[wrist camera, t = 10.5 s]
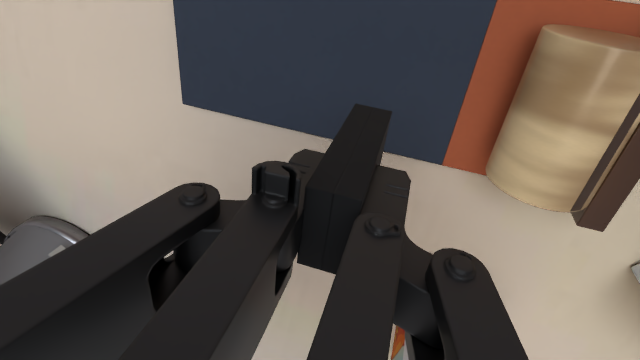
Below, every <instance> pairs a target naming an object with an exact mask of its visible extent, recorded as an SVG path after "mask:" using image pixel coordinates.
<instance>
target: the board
mask: <svg viewBox="0 0 640 360" xmlns="http://www.w3.org/2000/svg"><path fill="white" fill-rule="evenodd" d="M173 5H174V15H175V26H176V37H177V47H178V58H179V69H180V79H181V90H182V101H183V104H186V105H190V106H194V107H198V108H202V109H207V110H211V111H215V112H219V113H224V114H228V115H232V116H236V117H241V118H245V119H249V120H253V121H257V122H262V123H266V124H270V125H274V126H279V127H283V128H287V129H291V130H296V131H300V132H304V133H308V134H313V135H317V136H321V137H325V138H329V139H334V138H335V136H336V135H337V133H338V131H339V130H340V128H341V127H342V125H343V123H344V122H345V120H346V118H347V117H348V115H349V113H350V112H351V110H352V108H353V107H354V105H355V103H356V104H360V105H365V106H370V107H375V108H380V109H384V110H389V111H392V115H391V119H390V124H389V128H388V132H387V137H386V141H385V145H384V150H383V151H384V152H389V153H393V154H397V155H401V156H406V157H410V158H414V159H418V160H423V161H427V162H431V163H435V164H440V165H444V166H448V167H452V168H457V169H461V170H465V171H469V172H474V173H478V174H482V175H486V176H487V174H486V165H487V162H488V160H489V157H490V155H491V152H492V150H493V147H494V145H495V142H496V140H497V137H498V135H499V132H500V130H501V128H502V125H503V123H504V120H505V118H506V115H507V113H508V110H509V108H510V105H511V103H512V100H513V98H514V95H515V93H516V90H517V88H518V85H519V83H520V80H521V78H522V76H523V73H524V71H525V68H526V66H527V63H528V61H529V58H530V56H531V53H532V51H533V48H534V46H535V43H536V41H537V38H538V36H539V33H540V31H541V29H542V27H543V26H544V25H550V24H557V25H570V26H579V27H586V28H593V29H599V30H605V31H610V32H615V33H620V34H625V35H630V36H634V37H639V38H640V4H634V3H627V2H620V1H613V0H173ZM639 179H640V122H639V124H638V126H637V127H636V129H635V130H634V132H633V134H632V135H631V137H630V139H629V140H628V142H627V143H626V145H625V147H624V148H623V150H622V152H621V153H620V155H619V156H618V158H617V160H616V161H615V163H614V164H613V166H612V168H611V169H610V171H609V173H608V174H607V176H606V177H605V179H604V181H603V182H602V184H601V186H600V187H599V189H598V190H597V192H596V194H595V195H594V197H593V198H592V200H591V202H590V203H589V205H588V206H587V207H586V208H584V209H583V210H580V211H576V212H571V214H572V216H573V218H574V221H575V223H576V225H577V226H581V227H585V228H589V229H593V230H597V231H601V232H603V231H604V230H605V228H606V227H607V225H608V224H609V222H610V221H611V219H612V218H613V217H614V215H615V214H616V212H617V211H618V209H619V208H620V206H621V205H622V203H623V202H624V200H625V199H626V198H627V196H628V195H629V193H630V192H631V190H632V189H633V187H634V186H635V184H636V183H637V181H638V180H639Z"/></svg>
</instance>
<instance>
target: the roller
mask: <svg viewBox="0 0 640 360" xmlns="http://www.w3.org/2000/svg"><path fill="white" fill-rule="evenodd" d="M639 122H640V38H639V37H634V36H630V35H625V34H620V33H615V32H610V31H605V30H599V29H593V28H586V27H579V26H570V25H557V24H550V25H544V26H543V27H542V29H541V31H540V33H539V36H538V38H537V41H536V43H535V46H534V48H533V51H532V53H531V56H530V58H529V61H528V63H527V66H526V68H525V71H524V73H523V76H522V78H521V80H520V83H519V85H518V88H517V90H516V93H515V95H514V98H513V100H512V103H511V105H510V108H509V110H508V113H507V115H506V118H505V120H504V123H503V125H502V128H501V130H500V132H499V135H498V137H497V140H496V142H495V145H494V147H493V150H492V152H491V155H490V157H489V160H488V162H487V165H486V174H487V176H488V178H489V179H490V180H491V181H492V183H493V184H494V185H496V186H497V187H498V188H499V189H501V190H502V191H503V192H505V193H506V194H508V195H510V196H512V197H514V198H516V199H518V200H520V201H522V202H524V203H527V204H530V205H532V206H535V207H539V208H542V209H546V210H551V211H558V212H576V211H580V210H583V209H584V208H586V207H587V206H588V205H589V203H590V202H591V200H592V198H593V197H594V195H595V194H596V192H597V190H598V189H599V187H600V186H601V184H602V182H603V181H604V179H605V177H606V176H607V174H608V173H609V171H610V169H611V168H612V166H613V164H614V163H615V161H616V160H617V158H618V156H619V155H620V153H621V152H622V150H623V148H624V147H625V145H626V143H627V142H628V140H629V139H630V137H631V135H632V134H633V132H634V130H635V129H636V127H637V126H638V124H639Z"/></svg>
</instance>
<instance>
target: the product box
mask: <svg viewBox="0 0 640 360" xmlns="http://www.w3.org/2000/svg"><path fill="white" fill-rule="evenodd" d="M631 269H632V271H633V273H634V275H635V277H636V278H637V280H638V282H639V283H640V263H639V264H637V265H635V266H632V268H631Z"/></svg>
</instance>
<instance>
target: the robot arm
mask: <svg viewBox="0 0 640 360" xmlns="http://www.w3.org/2000/svg"><path fill="white" fill-rule="evenodd" d="M391 115H392V111H389V110H384V109H380V108H375V107H370V106H365V105H360V104H356V103H355V105H354V107H353V108H352V110H351V112H350V113H349V115H348V117H347V118H346V120H345V122H344V123H343V125H342V127H341V128H340V130H339V131H338V133H337V135H336V136H335V138H334V140H333V141H332V143H331V145H330V146H329V148H328V150H327V151H326V153H325V154H324V153H320V152H316V151H312V150H308V149H304V150H302V151H300V152H298V153H295V154H294V155H293V157H292V158H291V159H290V161H289V163H286V162H280V161H266V162H263V163H259V164H257V165H256V166H254V167H253V168H252V194H251V196H250V197H249V198H248V199H247V200H240V201H235V200H220V194H219V192H218V190H217V189H216V188H214V187H213V186H212V185H208V184H205V183H188V184H183V185H181V186H178V187H176V188H174V189H172V190H170V191H168V192H167V193H165V194H163V195H161V196H159V197H158V198H156V199H154V200H152V201H150V202H149V203H147V204H145V205H143V206H141V207H140V208H138V209H136V210H134V211H132V212H131V213H129V214H127V215H125V216H123V217H122V218H120V219H118V220H116V221H114V222H113V223H111V224H109V225H107V226H105V227H104V228H102V229H100V230H98V231H96V232H95V233H93V234H91V235H87V234H86V233H84V232H83V231H81V230H80V229H78V228H76V227H75V226H73V225H71V224H69V223H67V222H64V221H62V220H59V219H56V218H52V217H47V216H36V217H32V218H30V219H28V220H27V221H25V222H23V223H22V224H20V225H19V226H17V227H15V228H14V229H13V230H12V231H11V232H10V233H9V234H8V236H6V235H4V234H3V233H2V232H1V231H0V244H2V245H1V246H0V360H251V359H252V357H253V355H254V353H255V350H256V348H257V346H258V344H259V342H260V340H261V338H262V336H263V334H264V332H265V329H266V327H267V325H268V323H269V321H270V319H271V317H272V315H273V313H274V311H275V308H276V306H277V304H278V302H279V300H280V298H281V296H282V294H283V292H284V289H285V287H286V285H287V283H288V281H289V279H290V277H291V273H292V266H293V261H294V259H295V257H296V255H297V253H298V258H297V263H299V264H302V265H306V266H309V267H313V268H316V269H319V270H323V271H326V272H330V273H333V274H336V276H335V279H334V282H333V285H332V287H331V290H330V293H329V296H328V299H327V302H326V305H325V308H324V311H323V314H322V317H321V319H320V322H319V325H318V328H317V331H316V334H315V337H314V340H313V343H312V346H311V348H310V351H309V354H308V357H307V360H388V354H389V347H390V340H391V333H392V326H393V324H395V325H397V326H398V327H400V328H401V329H403V330H405V341H406V347H407V353H408V359H409V360H529V359H528V357H527V355H526V353H525V351H524V348H523V346H522V344H521V342H520V340H519V337H518V335H517V333H516V331H515V329H514V326H513V324H512V322H511V320H510V318H509V316H508V313H507V311H506V309H505V307H504V305H503V302H502V300H501V298H500V296H499V294H498V291H497V289H496V287H495V285H494V283H493V281H492V278H491V276H490V274H489V272H488V270H487V269H486V267H485V266H484V265H483V263H482V262H480V261H479V260H478V259H477V258H476V257H474V256H473V255H471V254H468V253H466V252H464V251H461V250H457V249H453V248H448V249H441V250H438V251H436V252H435V253H434V254H433V255H432V254H431V253H429V252H427V251H425V250H423V249H421V248H420V247H418V246H416V245H415V244H414V243H413V242H412V241H411V240H410V239H409V238H408V236H407V235H406V232H405V228H404V224H405V217H406V211H407V204H408V197H409V190H410V183H411V180H410V178H409V177H408V175H407V173H406V172H405V171H401V170H397V169H393V168H388V167H384V166H380V163H381V158H382V154H383V150H384V145H385V141H386V137H387V132H388V128H389V124H390V119H391ZM171 251H174V253H173V254H172V255H171V256H169V257H167V258H165V259H164V256H166V255H167V254H168V253H170V252H171Z"/></svg>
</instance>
